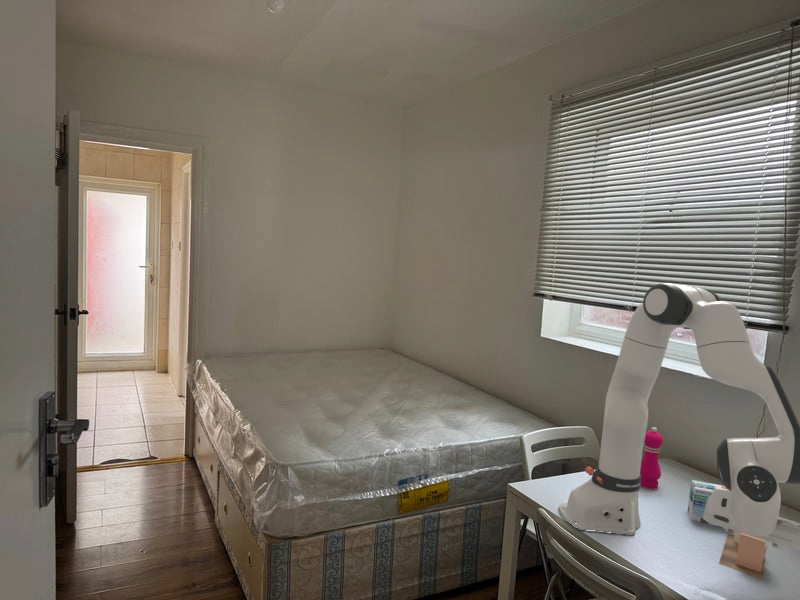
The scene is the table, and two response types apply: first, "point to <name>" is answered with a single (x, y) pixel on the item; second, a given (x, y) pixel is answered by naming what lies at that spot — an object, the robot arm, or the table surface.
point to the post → (736, 537)
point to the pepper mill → (651, 459)
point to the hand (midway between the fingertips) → (752, 537)
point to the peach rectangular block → (750, 552)
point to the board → (730, 557)
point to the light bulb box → (700, 499)
